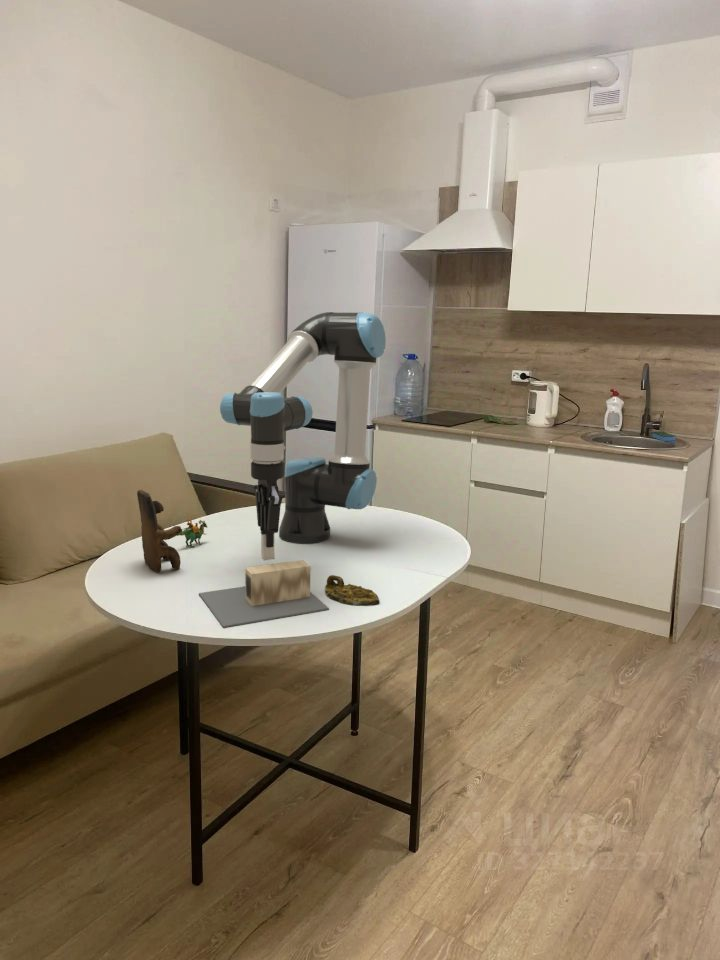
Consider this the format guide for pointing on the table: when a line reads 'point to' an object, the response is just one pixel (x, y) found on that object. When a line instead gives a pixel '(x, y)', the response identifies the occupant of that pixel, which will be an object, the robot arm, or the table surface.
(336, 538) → the table surface
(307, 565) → the beech block
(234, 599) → the rubber mat
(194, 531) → the figurine
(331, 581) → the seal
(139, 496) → the figurine
